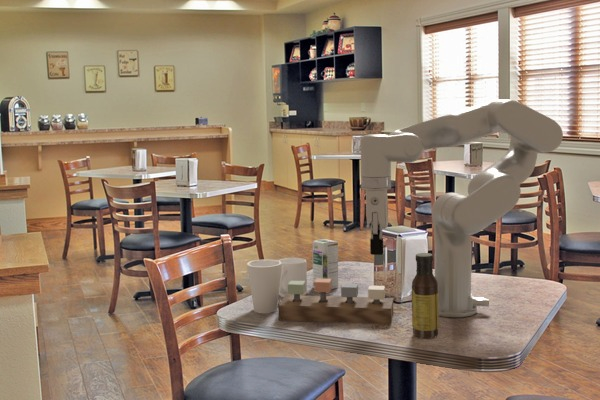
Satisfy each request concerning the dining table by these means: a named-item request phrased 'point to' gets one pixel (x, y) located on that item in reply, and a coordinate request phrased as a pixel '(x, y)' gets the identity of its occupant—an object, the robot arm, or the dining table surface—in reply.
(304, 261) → the mug
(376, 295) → the cream rectangular block
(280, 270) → the foam cup
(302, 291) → the sage key
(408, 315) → the dining table surface
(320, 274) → the syrup box
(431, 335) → the sauce bottle
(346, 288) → the slate-grey key
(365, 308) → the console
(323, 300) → the terracotta key
